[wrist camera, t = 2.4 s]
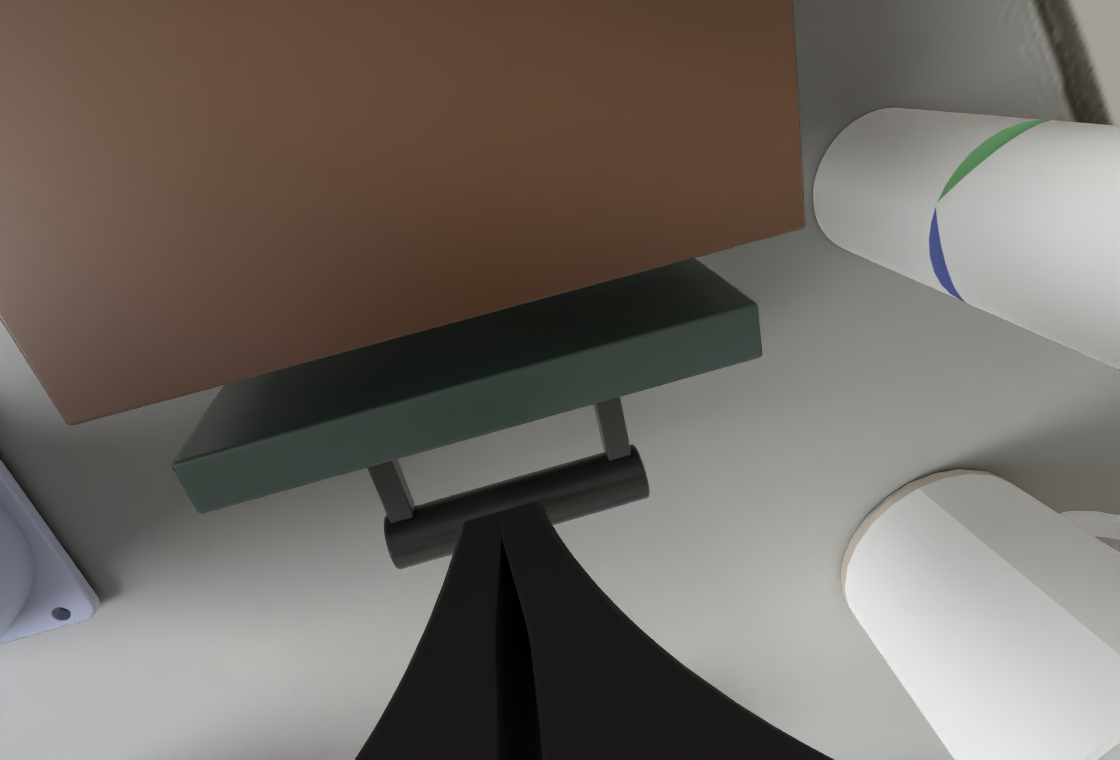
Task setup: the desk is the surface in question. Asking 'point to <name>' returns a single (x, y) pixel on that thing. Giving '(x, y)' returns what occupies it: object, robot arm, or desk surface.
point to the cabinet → (362, 170)
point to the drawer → (473, 402)
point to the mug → (994, 616)
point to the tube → (987, 214)
